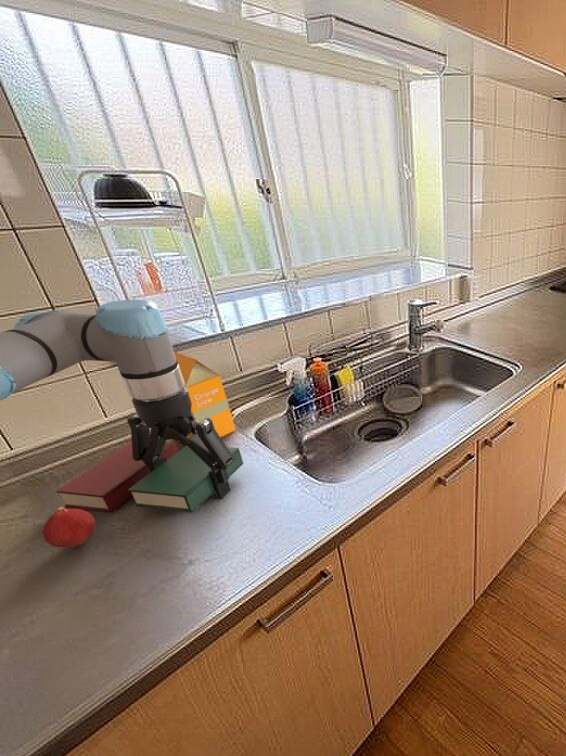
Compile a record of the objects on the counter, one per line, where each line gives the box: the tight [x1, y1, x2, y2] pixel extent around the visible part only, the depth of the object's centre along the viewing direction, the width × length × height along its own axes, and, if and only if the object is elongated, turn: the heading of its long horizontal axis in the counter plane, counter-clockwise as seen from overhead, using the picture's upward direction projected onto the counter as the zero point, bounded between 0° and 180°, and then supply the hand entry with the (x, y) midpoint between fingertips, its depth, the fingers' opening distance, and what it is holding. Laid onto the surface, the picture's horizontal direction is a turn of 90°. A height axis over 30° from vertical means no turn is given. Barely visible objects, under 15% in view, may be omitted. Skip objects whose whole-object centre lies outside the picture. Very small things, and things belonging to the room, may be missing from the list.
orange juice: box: [174, 351, 236, 439], centre depth 94 cm, size 8×9×20 cm
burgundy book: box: [56, 441, 179, 513], centre depth 82 cm, size 9×16×4 cm, turn 175°
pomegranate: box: [42, 506, 96, 548], centre depth 68 cm, size 6×6×8 cm
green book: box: [128, 446, 244, 513], centre depth 80 cm, size 10×14×4 cm
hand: (196, 491), depth 82 cm, fingers closed on green book, 10 cm apart
